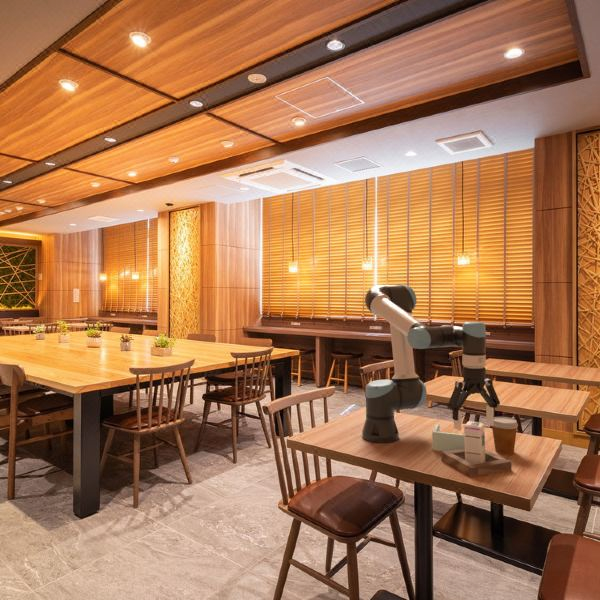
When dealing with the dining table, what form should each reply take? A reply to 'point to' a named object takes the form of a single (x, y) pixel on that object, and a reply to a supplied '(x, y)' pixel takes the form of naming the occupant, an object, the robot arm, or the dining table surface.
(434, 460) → the dining table surface
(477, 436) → the syrup box
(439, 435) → the l-shaped corner panel
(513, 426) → the disposable coffee cup
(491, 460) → the socket block
